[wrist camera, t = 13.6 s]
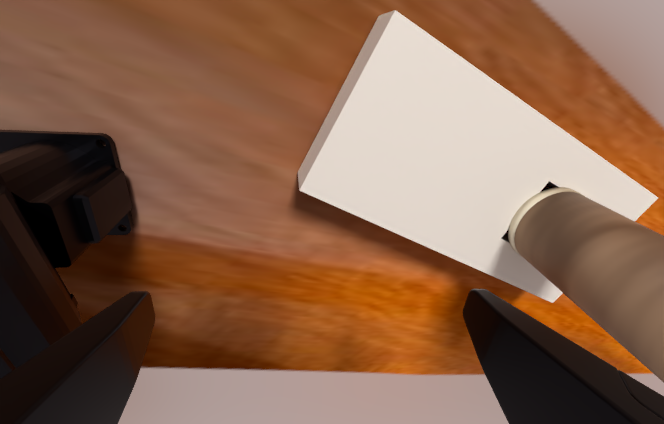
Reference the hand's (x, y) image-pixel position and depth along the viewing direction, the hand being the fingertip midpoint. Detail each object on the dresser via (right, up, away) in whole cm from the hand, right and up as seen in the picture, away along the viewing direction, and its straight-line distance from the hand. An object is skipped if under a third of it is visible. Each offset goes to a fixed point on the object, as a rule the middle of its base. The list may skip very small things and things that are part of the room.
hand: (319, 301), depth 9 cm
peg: (+14, +3, +15) cm, 21 cm away
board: (+10, +5, +14) cm, 18 cm away
